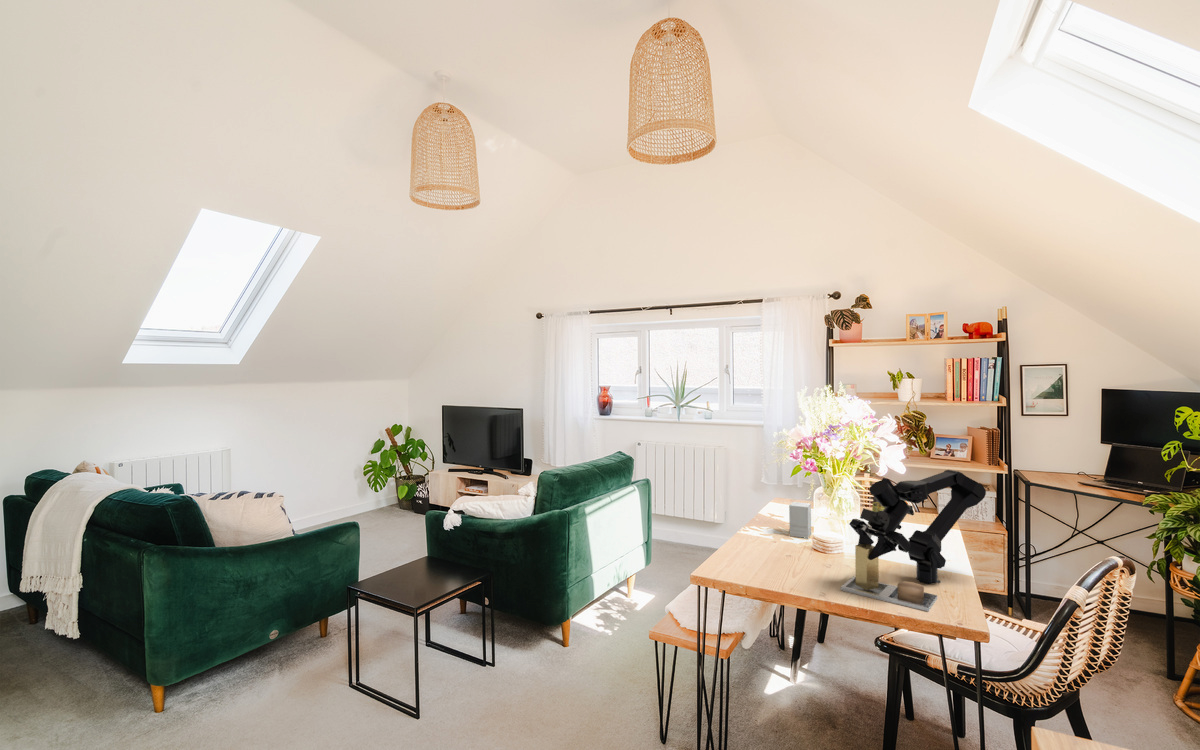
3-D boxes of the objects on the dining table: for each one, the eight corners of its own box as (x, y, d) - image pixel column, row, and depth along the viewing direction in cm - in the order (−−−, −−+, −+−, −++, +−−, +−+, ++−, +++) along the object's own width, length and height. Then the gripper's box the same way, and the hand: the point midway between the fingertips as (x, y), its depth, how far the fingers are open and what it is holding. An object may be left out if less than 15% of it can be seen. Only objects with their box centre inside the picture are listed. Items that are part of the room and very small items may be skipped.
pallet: (853, 582, 177) (853, 576, 177) (937, 602, 162) (937, 595, 162) (840, 593, 169) (840, 586, 169) (928, 615, 154) (928, 608, 154)
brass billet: (867, 582, 172) (867, 543, 172) (878, 588, 168) (878, 547, 168) (855, 584, 171) (855, 545, 171) (866, 590, 167) (866, 549, 166)
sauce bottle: (870, 530, 236) (870, 482, 236) (872, 526, 241) (872, 480, 241) (888, 532, 232) (888, 484, 232) (889, 529, 238) (890, 481, 237)
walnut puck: (900, 593, 166) (900, 579, 166) (926, 599, 162) (926, 585, 162) (894, 600, 161) (894, 586, 161) (920, 606, 157) (920, 592, 157)
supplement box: (811, 534, 230) (811, 503, 230) (808, 539, 224) (808, 507, 223) (792, 531, 234) (792, 501, 234) (788, 536, 227) (788, 504, 227)
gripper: (853, 492, 179) (825, 531, 176) (902, 506, 162) (872, 549, 158) (873, 515, 182) (846, 553, 178) (923, 531, 164) (894, 573, 161)
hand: (863, 556), depth 169 cm, fingers closed on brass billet, 4 cm apart
